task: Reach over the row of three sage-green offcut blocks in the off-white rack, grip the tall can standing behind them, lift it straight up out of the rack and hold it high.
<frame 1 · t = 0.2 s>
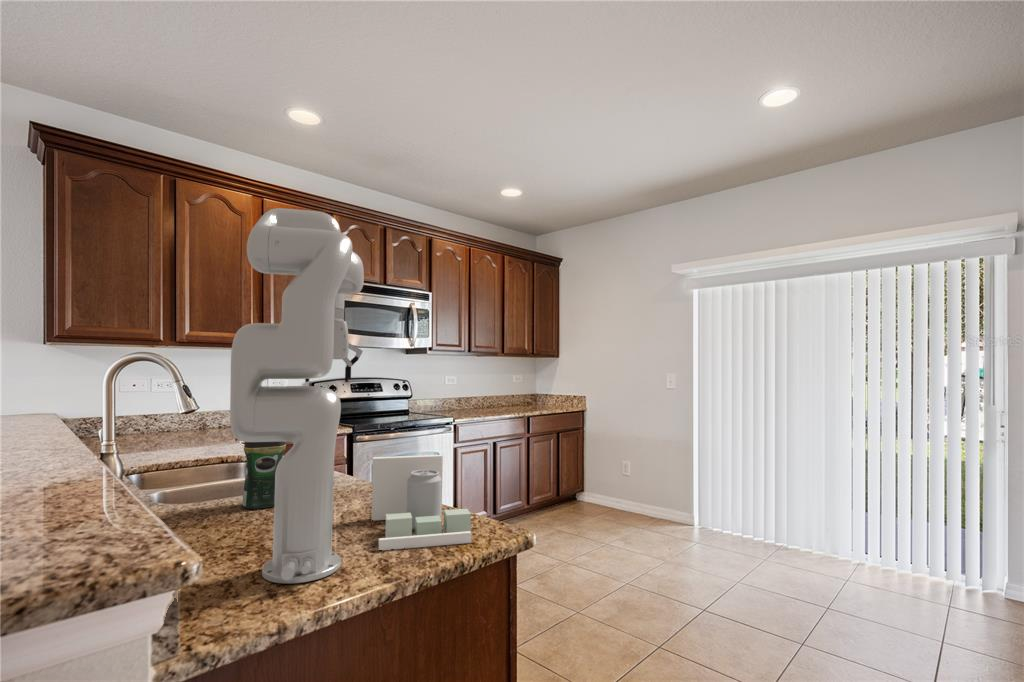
hand: (327, 381, 133), 31 cm above the countertop, fingers open, 9 cm apart
offcut 2: (456, 536, 107), resting in rack
offcut mid: (428, 538, 106), resting in rack
rack: (423, 526, 113), on the countertop
coffee jar: (263, 505, 129), on the countertop
can: (423, 527, 113), resting in rack
offcut 1: (398, 541, 104), resting in rack
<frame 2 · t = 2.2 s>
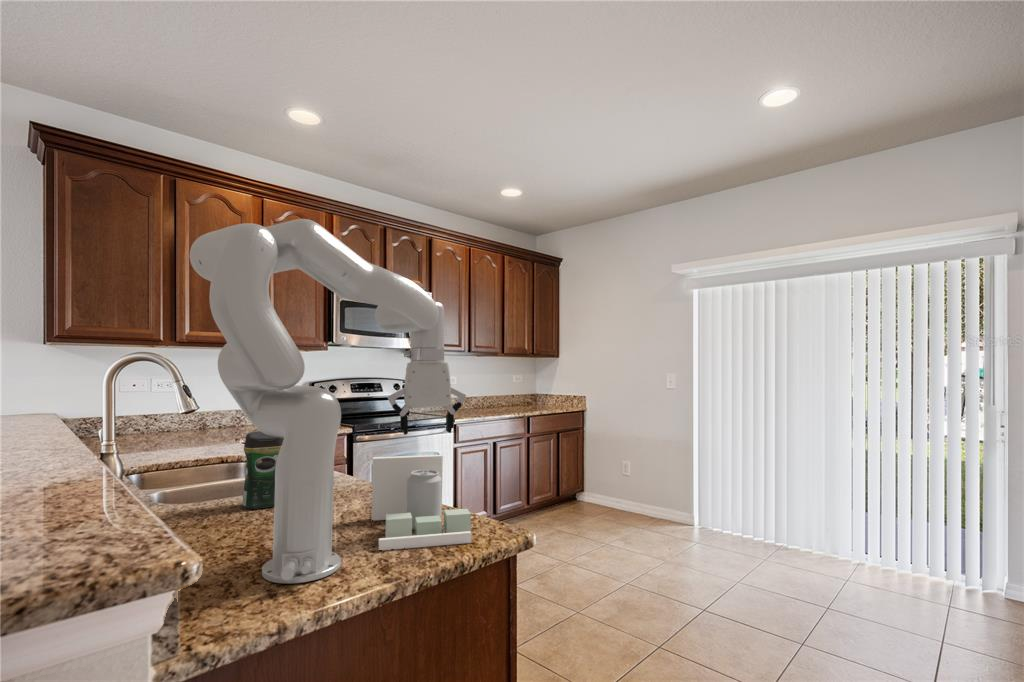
hand: (427, 432, 115), 20 cm above the countertop, fingers open, 9 cm apart
nothing on the countertop moved.
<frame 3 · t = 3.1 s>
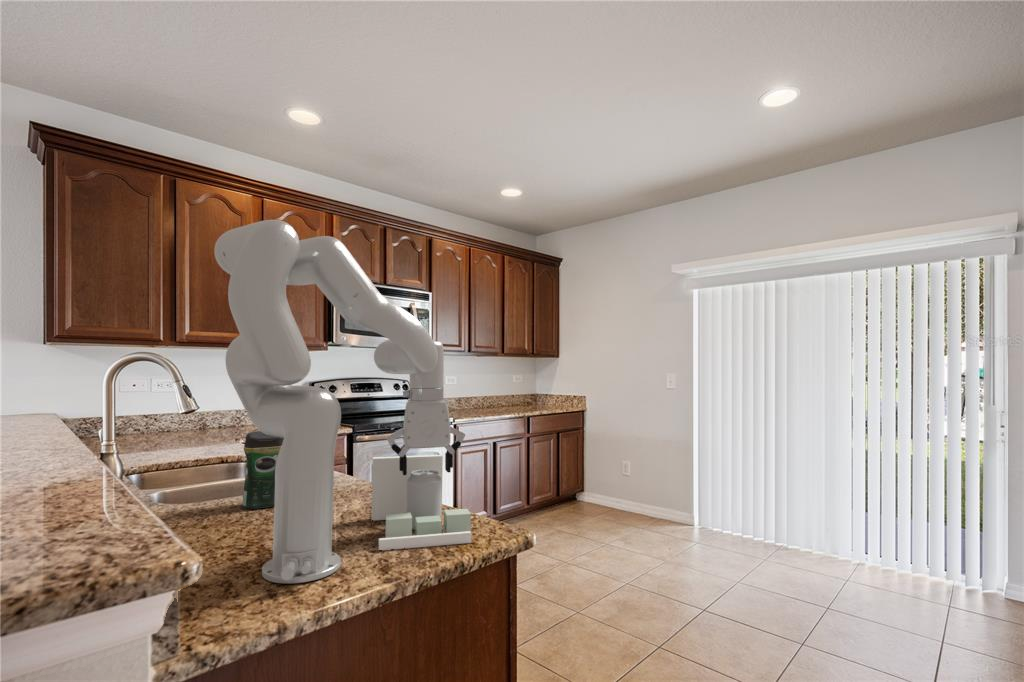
hand: (426, 472, 114), 12 cm above the countertop, fingers open, 9 cm apart
nothing on the countertop moved.
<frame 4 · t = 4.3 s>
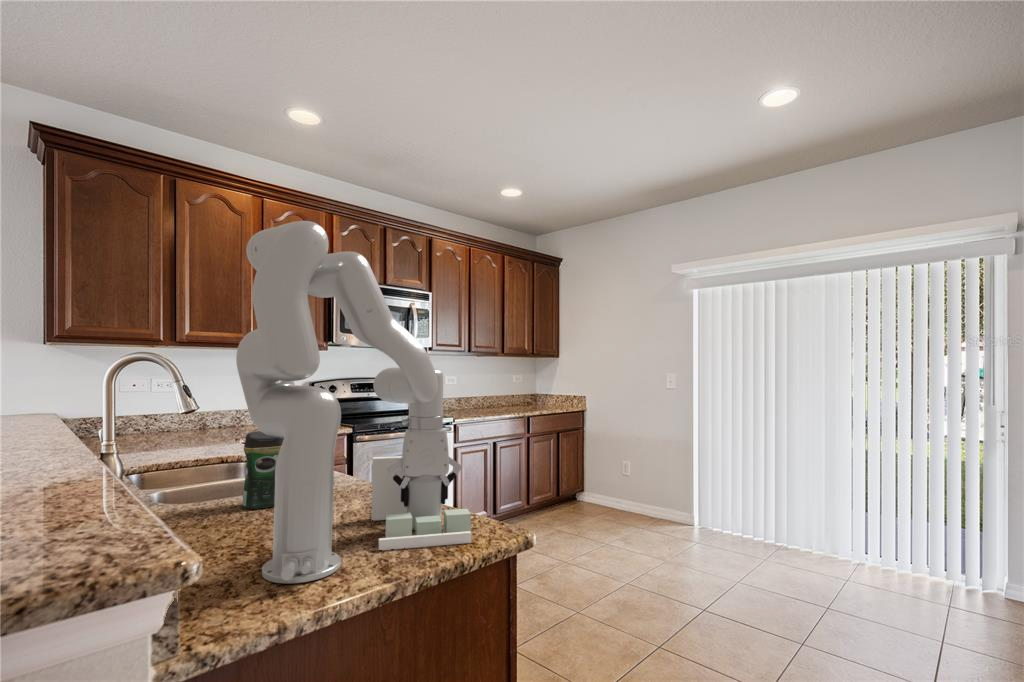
hand: (424, 503, 114), 5 cm above the countertop, fingers closed on can, 7 cm apart
can: (423, 527, 113), resting in rack, touching gripper
everything else where it was.
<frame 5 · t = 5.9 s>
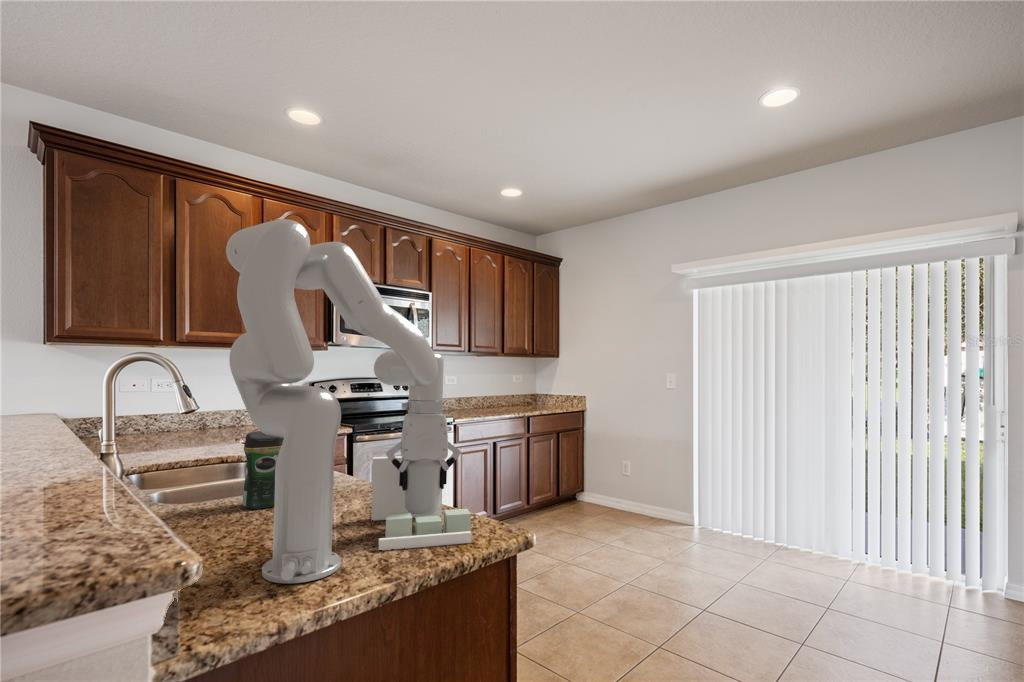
hand: (422, 488, 113), 8 cm above the countertop, fingers closed on can, 7 cm apart
can: (422, 512, 113), point 3 cm above the countertop, touching gripper
everything else where it was.
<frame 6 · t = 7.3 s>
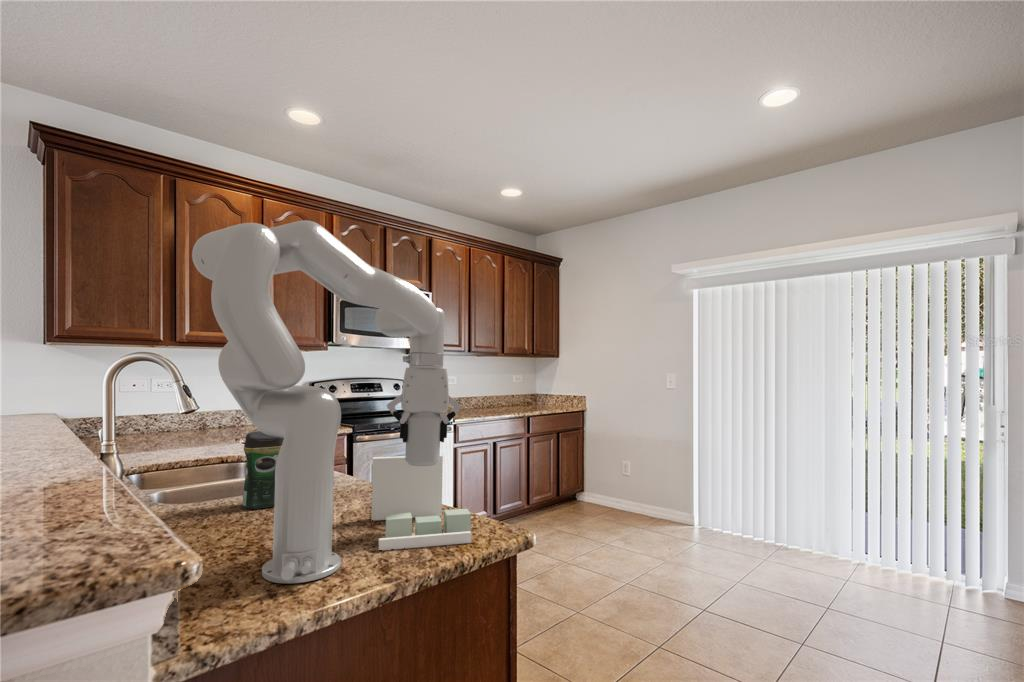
hand: (423, 441, 114), 19 cm above the countertop, fingers closed on can, 7 cm apart
can: (422, 464, 113), point 14 cm above the countertop, touching gripper
everything else where it was.
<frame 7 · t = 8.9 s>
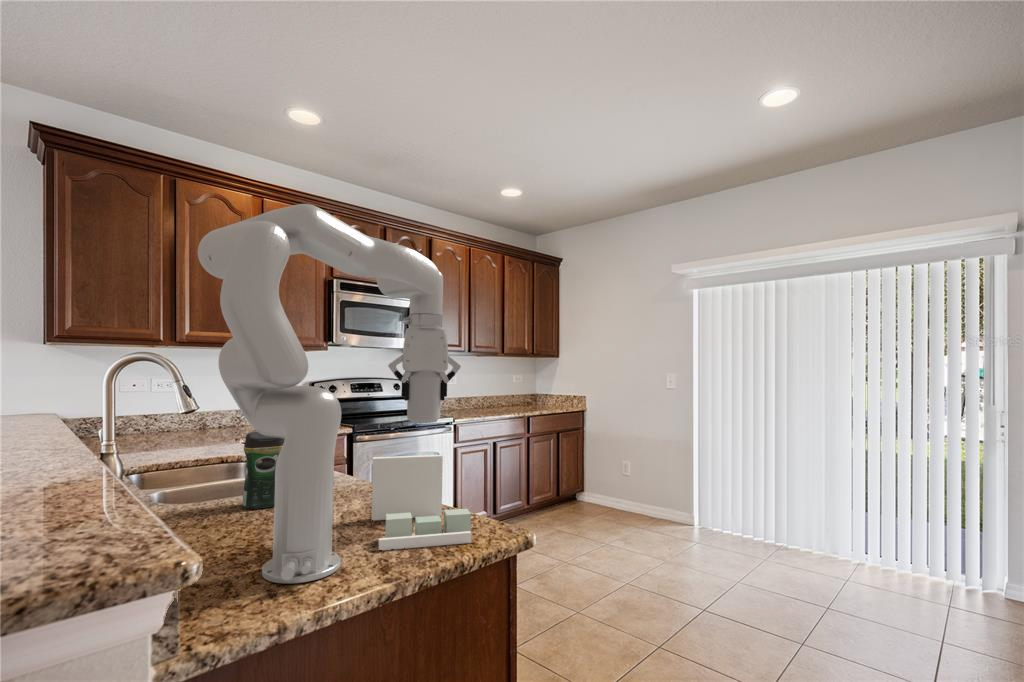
hand: (424, 399, 118), 28 cm above the countertop, fingers closed on can, 7 cm apart
can: (423, 422, 117), point 22 cm above the countertop, touching gripper
everything else where it was.
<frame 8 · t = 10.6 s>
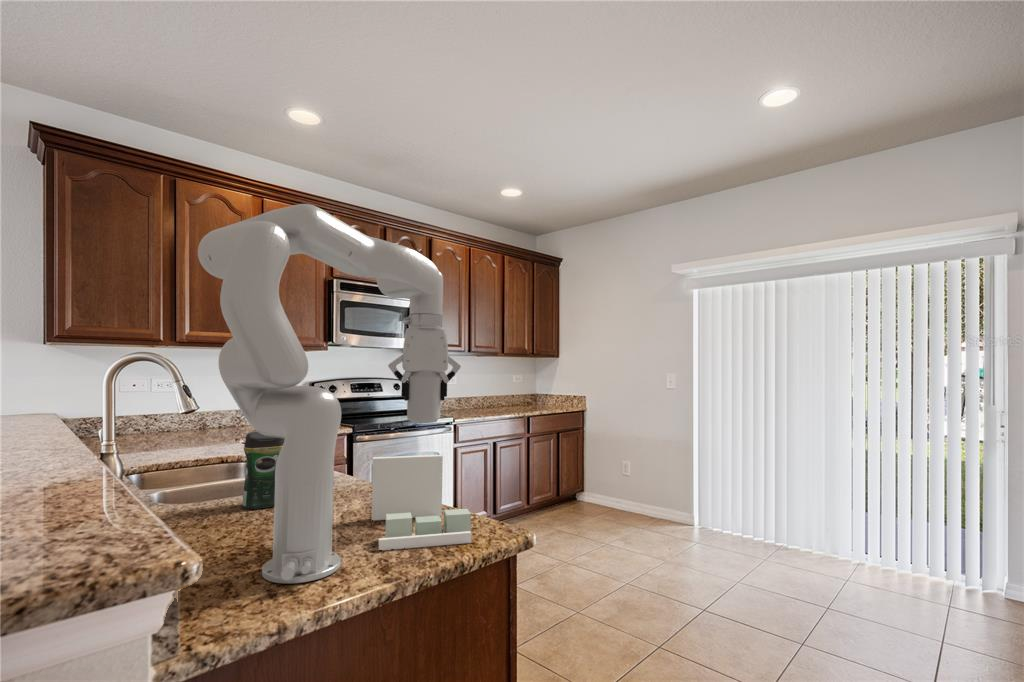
hand: (424, 399, 118), 28 cm above the countertop, fingers closed on can, 7 cm apart
can: (423, 422, 117), point 22 cm above the countertop, touching gripper
everything else where it was.
at the end: the gripper is holding can; can point 22.5 cm above the countertop; offcut mid moved 0.2 cm from its start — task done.
